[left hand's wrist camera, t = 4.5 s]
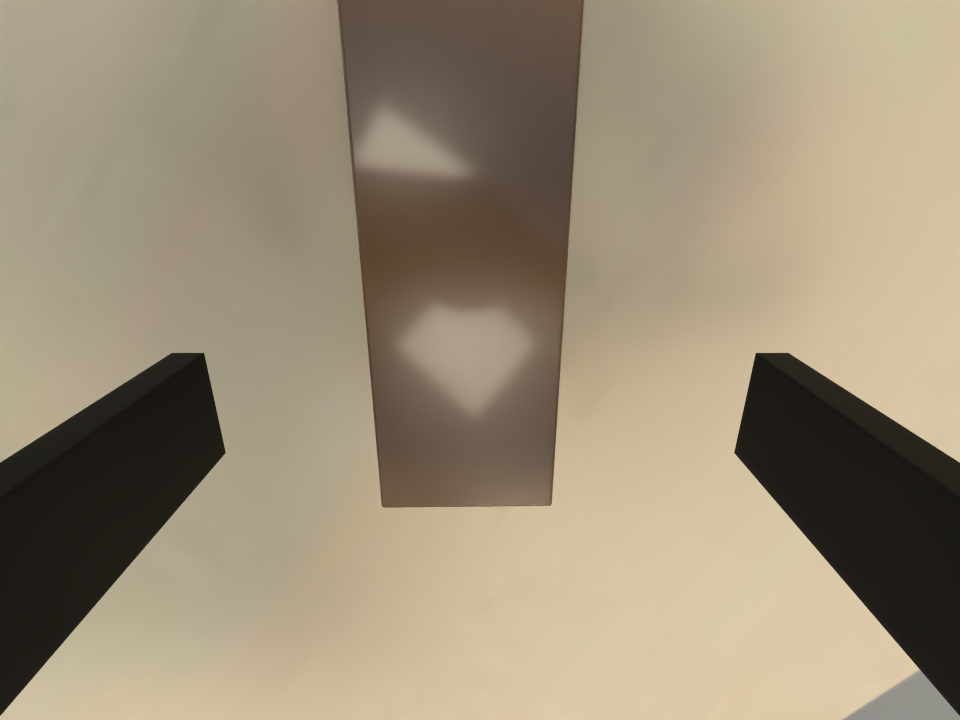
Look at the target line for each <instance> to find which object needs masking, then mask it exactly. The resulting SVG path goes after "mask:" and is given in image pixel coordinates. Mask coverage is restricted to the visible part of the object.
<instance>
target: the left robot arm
mask: <svg viewBox="0 0 960 720" xmlns="http://www.w3.org/2000/svg"><path fill="white" fill-rule="evenodd" d="M225 453H226V452H225V448H224V443H223V438H222V434H221V429H220V425H219V420H218V415H217V411H216V406H215V401H214V397H213V392H212V388H211V383H210V378H209V374H208V369H207V364H206V360H205V355H204V353H171V354H170V355H168V356H166V357H165V358H163V359H162V360H160V361H159V362H157V363H156V364H154V365H152V366H151V367H149V368H148V369H146V370H145V371H143V372H141V373H140V374H138V375H137V376H135V377H134V378H132V379H131V380H129V381H127V382H126V383H124V384H123V385H121V386H120V387H118V388H116V389H115V390H113V391H112V392H110V393H109V394H107V395H105V396H104V397H102V398H101V399H99V400H98V401H96V402H95V403H93V404H91V405H90V406H88V407H87V408H85V409H84V410H82V411H80V412H79V413H77V414H76V415H74V416H73V417H71V418H70V419H68V420H66V421H65V422H63V423H62V424H60V425H59V426H57V427H55V428H54V429H52V430H51V431H49V432H48V433H46V434H45V435H43V436H41V437H40V438H38V439H37V440H35V441H34V442H32V443H30V444H29V445H27V446H26V447H24V448H23V449H21V450H19V451H18V452H16V453H15V454H13V455H12V456H10V457H9V458H7V459H5V460H4V461H2V462H1V463H0V715H1V714H2V713H3V712H4V711H5V710H6V708H7V707H8V706H9V705H10V704H11V703H12V701H13V700H14V699H15V698H16V697H17V696H18V694H19V693H20V692H21V691H22V690H23V689H24V687H25V686H26V685H27V684H28V683H29V682H30V680H31V679H32V678H33V677H34V676H35V675H36V673H37V672H38V671H39V670H40V669H41V668H42V666H43V665H44V664H45V663H46V662H47V661H48V659H49V658H50V657H51V656H52V655H53V654H54V652H55V651H56V650H57V649H58V648H59V647H60V645H61V644H62V643H63V642H64V641H65V640H66V638H67V637H68V636H69V635H70V634H71V633H72V631H73V630H74V629H75V628H76V627H77V626H78V624H79V623H80V622H81V621H82V620H83V619H84V617H85V616H86V615H87V614H88V613H89V612H90V610H91V609H92V608H93V607H94V606H95V605H96V603H97V602H98V601H99V600H100V599H101V598H102V596H103V595H104V594H105V593H106V592H107V591H108V589H109V588H110V587H111V586H112V585H113V584H114V582H115V581H116V580H117V579H118V578H119V577H120V575H121V574H122V573H123V572H124V571H125V570H126V568H127V567H128V566H129V565H130V564H131V563H132V561H133V560H134V559H135V558H136V557H137V556H138V554H139V553H140V552H141V551H142V550H143V549H144V547H145V546H146V545H147V544H148V543H149V542H150V540H151V539H152V538H153V537H154V536H155V535H156V533H157V532H158V531H159V530H160V529H161V528H162V526H163V525H164V524H165V523H166V522H167V521H168V519H169V518H170V517H171V516H172V515H173V514H174V512H175V511H176V510H177V509H178V508H179V507H180V505H181V504H182V503H183V502H184V501H185V500H186V498H187V497H188V496H189V495H190V494H191V493H192V491H193V490H194V489H195V488H196V487H197V486H198V484H199V483H200V482H201V481H202V480H203V479H204V477H205V476H206V475H207V474H208V473H209V472H210V470H211V469H212V468H213V467H214V466H215V465H216V463H217V462H218V461H219V460H220V459H221V458H222V456H223V455H224V454H225ZM734 453H735V454H736V455H737V456H738V458H739V459H740V460H741V461H742V462H743V463H744V465H745V466H746V467H747V468H748V469H749V470H750V472H751V473H752V474H753V475H754V476H755V477H756V479H757V480H758V481H759V482H760V483H761V484H762V486H763V487H764V488H765V489H766V490H767V491H768V493H769V494H770V495H771V496H772V497H773V498H774V500H775V501H776V502H777V503H778V504H779V505H780V507H781V508H782V509H783V510H784V511H785V512H786V514H787V515H788V516H789V517H790V518H791V519H792V521H793V522H794V523H795V524H796V525H797V526H798V528H799V529H800V530H801V531H802V532H803V533H804V535H805V536H806V537H807V538H808V539H809V540H810V542H811V543H812V544H813V545H814V546H815V547H816V549H817V550H818V551H819V552H820V553H821V554H822V556H823V557H824V558H825V559H826V560H827V561H828V563H829V564H830V565H831V566H832V567H833V568H834V570H835V571H836V572H837V573H838V574H839V575H840V577H841V578H842V579H843V580H844V581H845V582H846V584H847V585H848V586H849V587H850V588H851V589H852V591H853V592H854V593H855V594H856V595H857V596H858V598H859V599H860V600H861V601H862V602H863V603H864V605H865V606H866V607H867V608H868V609H869V610H870V612H871V613H872V614H873V615H874V616H875V617H876V619H877V620H878V621H879V622H880V623H881V624H882V626H883V627H884V628H885V629H886V630H887V631H888V633H889V634H890V635H891V636H892V637H893V638H894V640H895V641H896V642H897V643H898V644H899V645H900V647H901V648H902V649H903V650H904V651H905V652H906V654H907V655H908V656H909V657H910V658H911V659H912V661H913V662H914V663H915V664H916V665H917V666H918V668H919V669H920V670H921V671H922V672H923V673H924V675H925V676H926V677H927V678H928V679H929V680H930V682H931V683H932V684H933V685H934V686H935V687H936V689H937V690H938V691H939V692H940V693H941V694H942V696H943V697H944V698H945V699H946V700H947V701H948V703H949V704H950V705H951V706H952V707H953V708H954V710H955V711H956V712H957V713H958V714H959V715H960V463H959V462H958V461H956V460H955V459H953V458H951V457H950V456H948V455H947V454H945V453H944V452H942V451H941V450H939V449H937V448H936V447H934V446H933V445H931V444H930V443H928V442H926V441H925V440H923V439H922V438H920V437H919V436H917V435H915V434H914V433H912V432H911V431H909V430H908V429H906V428H905V427H903V426H901V425H900V424H898V423H897V422H895V421H894V420H892V419H890V418H889V417H887V416H886V415H884V414H883V413H881V412H880V411H878V410H876V409H875V408H873V407H872V406H870V405H869V404H867V403H865V402H864V401H862V400H861V399H859V398H858V397H856V396H855V395H853V394H851V393H850V392H848V391H847V390H845V389H844V388H842V387H840V386H839V385H837V384H836V383H834V382H833V381H831V380H829V379H828V378H826V377H825V376H823V375H822V374H820V373H819V372H817V371H815V370H814V369H812V368H811V367H809V366H808V365H806V364H804V363H803V362H801V361H800V360H798V359H797V358H795V357H794V356H792V355H790V354H789V353H756V355H755V360H754V364H753V369H752V374H751V378H750V383H749V388H748V392H747V397H746V401H745V406H744V411H743V415H742V420H741V425H740V429H739V434H738V438H737V443H736V448H735V452H734Z"/></svg>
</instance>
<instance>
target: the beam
mask: <svg viewBox="0 0 960 720" xmlns="http://www.w3.org/2000/svg"><path fill="white" fill-rule="evenodd" d="M337 1H338V12H339V24H340V35H341V47H342V58H343V69H344V81H345V92H346V103H347V115H348V126H349V138H350V149H351V160H352V172H353V183H354V194H355V206H356V217H357V229H358V240H359V251H360V263H361V274H362V285H363V297H364V308H365V320H366V331H367V342H368V354H369V365H370V376H371V388H372V399H373V411H374V422H375V433H376V445H377V456H378V467H379V479H380V490H381V502H382V506H383V507H473V506H550V505H551V503H552V490H553V475H554V459H555V444H556V428H557V413H558V397H559V381H560V366H561V350H562V335H563V319H564V304H565V288H566V273H567V257H568V241H569V226H570V210H571V195H572V179H573V164H574V148H575V133H576V117H577V101H578V86H579V70H580V55H581V39H582V24H583V8H584V0H337Z"/></svg>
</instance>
